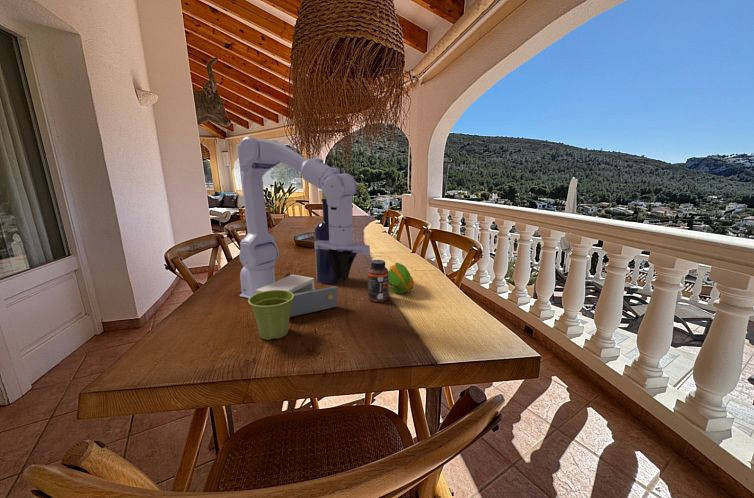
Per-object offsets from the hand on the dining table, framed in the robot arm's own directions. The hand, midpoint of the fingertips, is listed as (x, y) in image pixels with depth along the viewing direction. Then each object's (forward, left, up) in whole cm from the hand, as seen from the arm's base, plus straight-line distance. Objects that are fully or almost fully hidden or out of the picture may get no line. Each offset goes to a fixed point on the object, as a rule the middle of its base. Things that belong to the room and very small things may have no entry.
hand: (342, 279), depth 73 cm
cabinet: (-17, -1, -9) cm, 19 cm away
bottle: (-18, +21, -10) cm, 29 cm away
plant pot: (-9, -15, -10) cm, 20 cm away
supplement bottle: (+4, +13, -10) cm, 17 cm away
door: (-8, -3, -9) cm, 12 cm away
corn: (+6, +25, -10) cm, 27 cm away
